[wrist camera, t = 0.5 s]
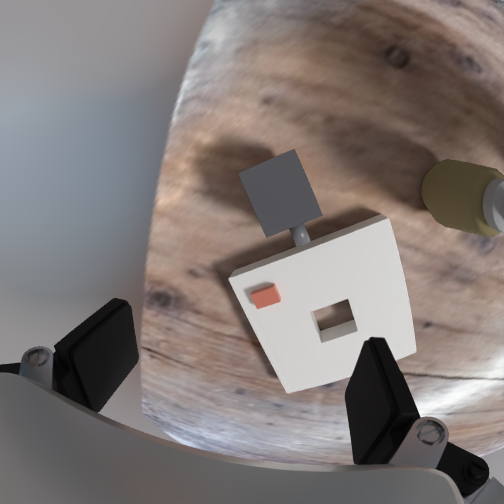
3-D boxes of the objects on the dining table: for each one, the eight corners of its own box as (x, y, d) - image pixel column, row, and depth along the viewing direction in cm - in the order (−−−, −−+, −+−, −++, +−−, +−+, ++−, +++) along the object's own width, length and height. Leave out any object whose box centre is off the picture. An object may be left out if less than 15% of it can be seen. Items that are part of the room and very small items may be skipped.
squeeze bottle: (401, 197, 29) (490, 226, 12) (430, 146, 26) (527, 136, 9) (442, 233, 29) (530, 285, 12) (469, 185, 26) (564, 206, 9)
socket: (381, 213, 30) (391, 219, 26) (410, 340, 34) (418, 355, 30) (233, 270, 35) (226, 281, 32) (288, 380, 39) (286, 397, 35)
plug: (252, 173, 32) (237, 173, 24) (295, 154, 30) (294, 148, 23) (281, 240, 33) (276, 260, 26) (324, 224, 32) (331, 239, 24)
